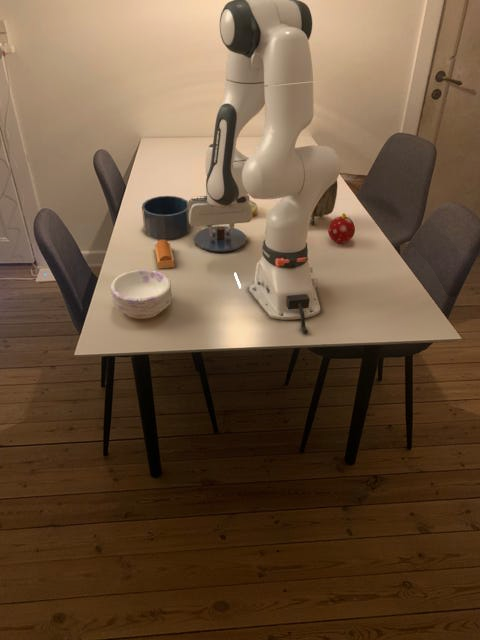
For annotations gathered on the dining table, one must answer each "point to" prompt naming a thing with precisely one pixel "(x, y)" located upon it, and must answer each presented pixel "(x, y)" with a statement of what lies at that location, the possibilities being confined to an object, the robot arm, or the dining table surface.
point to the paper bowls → (141, 293)
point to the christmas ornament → (341, 229)
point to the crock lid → (220, 239)
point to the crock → (166, 217)
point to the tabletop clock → (325, 203)
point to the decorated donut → (253, 207)
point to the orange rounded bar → (164, 254)
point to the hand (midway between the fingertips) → (220, 235)
